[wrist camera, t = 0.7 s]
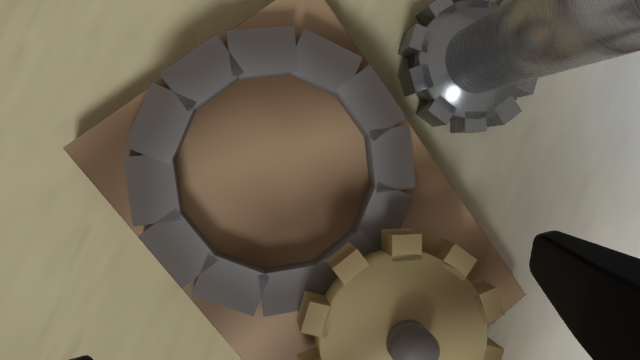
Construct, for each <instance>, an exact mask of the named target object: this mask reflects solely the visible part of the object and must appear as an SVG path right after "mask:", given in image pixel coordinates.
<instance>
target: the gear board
mask: <svg viewBox="0 0 640 360" xmlns="http://www.w3.org/2000/svg"><path fill="white" fill-rule="evenodd" d="M226 33H227V34H226V35H224V36H223V37H221V38H220V39H219V37H218V36H217V35H216V34H215V35H214V36H212V37H211V38H209V39H208V40H207V41H205V42H204V43H202V44H201V45H199V46H198V47H196V48H195V49H194V50H192V51H191V52H189V53H188V54H186V55H185V56H183V57H182V58H181V59H179V60H178V61H176V62H175V63H173V64H172V65H171V66H169V67H168V68H166V69H165V70H163V71H162V72H160V73H159V75H160V76H161V77H162V78H163V79H161V80H160V81H158V82H157V83H153V82H152V83H151V85H150V88H148V89H147V90H145V91H144V92H143V93H141V94H140V95H138V96H137V97H135V98H134V99H132V100H131V101H130V102H128V103H127V104H125V105H124V106H122V107H121V108H120V109H118V110H117V111H115V112H114V113H112V114H111V115H110V116H108V117H107V118H105V119H104V120H102V121H101V122H99V123H98V124H97V125H95V126H94V127H92V128H91V129H89V130H88V131H87V132H85V133H84V134H82V135H81V136H79V137H78V138H77V139H75V140H74V141H72V142H71V143H69V144H68V145H66V146H65V147H64V148H63V149H64V150H65V151H66V152H67V153H68V155H69V156H70V157H71V158H72V159H73V160H74V162H75V163H76V164H77V165H78V166H79V168H80V169H81V170H82V171H83V172H84V173H85V175H86V176H87V177H88V178H89V179H90V181H91V182H92V183H93V184H94V185H95V186H96V188H97V189H98V190H99V191H100V192H101V194H102V195H103V196H104V197H105V198H106V199H107V201H108V202H109V203H110V204H111V205H112V207H113V208H114V209H115V210H116V211H117V213H118V214H119V215H120V216H121V217H122V218H123V220H124V221H125V222H126V223H127V224H128V226H129V227H130V228H131V229H132V230H133V231H134V233H135V234H136V235H137V236H138V237H139V239H140V240H141V241H142V242H143V243H144V245H145V246H146V247H147V248H148V249H149V250H150V252H151V253H152V254H153V255H154V256H155V258H156V259H157V260H158V261H159V262H160V264H161V265H162V266H163V267H164V268H165V269H166V271H167V272H168V273H169V274H170V275H171V277H172V278H173V279H174V280H175V281H176V282H177V284H178V285H179V286H180V287H181V288H182V289H183V291H184V292H185V293H186V294H187V295H188V296H189V298H190V299H191V300H192V301H193V302H194V304H195V305H196V306H197V307H198V308H199V309H200V311H201V312H202V313H203V314H204V315H205V317H206V318H207V319H208V320H209V321H210V322H211V324H212V325H213V326H214V327H215V328H216V330H217V331H218V332H219V333H220V334H221V335H222V337H223V338H224V339H225V340H226V341H227V343H228V344H229V345H230V346H231V347H232V348H233V350H234V351H235V352H236V353H237V354H238V356H239V357H240V358H241V359H242V360H501V358H502V355H503V351H504V349H503V348H502V347H500V346H499V345H498V344H496V343H495V342H494V341H492V340H491V339H490V338H488V337H487V328H488V327H489V326H490V325H491V324H492V323H494V322H495V321H496V320H497V319H498V318H499V317H500V316H502V315H505V314H504V313H505V312H506V311H507V310H509V309H510V308H511V307H512V306H513V305H514V304H516V303H517V302H518V301H519V300H520V299H521V298H522V297H524V296H525V295H526V294H525V293H524V291H523V290H522V288H521V287H520V285H519V284H518V282H517V281H516V279H515V278H514V277H513V275H512V274H511V272H510V271H509V269H508V268H507V266H506V265H505V263H504V262H503V260H502V259H501V258H500V256H499V255H498V253H497V252H496V250H495V249H494V247H493V246H492V244H491V243H490V241H489V240H488V238H487V237H486V236H485V234H484V233H483V231H482V230H481V228H480V227H479V225H478V224H477V222H476V221H475V219H474V218H473V216H472V215H471V214H470V212H469V211H468V209H467V208H466V206H465V205H464V203H463V202H462V200H461V199H460V197H459V196H458V195H457V193H456V192H455V190H454V189H453V187H452V186H451V184H450V183H449V181H448V180H447V178H446V177H445V175H444V174H443V173H442V171H441V170H440V168H439V167H438V165H437V164H436V162H435V161H434V159H433V158H432V156H431V155H430V153H429V152H428V151H427V149H426V148H425V146H424V145H423V143H422V142H421V140H420V139H419V137H418V136H417V134H416V133H415V132H414V130H413V129H412V127H411V126H410V124H409V123H408V121H407V120H406V118H405V117H406V116H405V114H404V113H403V111H402V110H401V108H400V107H399V105H398V104H397V102H396V101H395V99H394V98H393V96H392V95H391V94H390V92H389V91H388V89H387V88H386V86H385V85H384V83H383V82H382V80H381V79H380V77H379V76H378V74H377V73H376V72H375V70H374V69H373V67H372V66H371V64H370V65H369V64H368V63H367V61H366V60H365V58H364V57H363V55H362V54H361V52H360V51H359V49H358V48H357V47H356V45H355V44H354V42H353V41H352V39H351V38H350V36H349V35H348V33H347V32H346V30H345V29H344V27H343V26H342V25H341V23H340V22H339V20H338V19H337V17H336V16H335V14H334V13H333V11H332V10H331V8H330V7H329V6H328V4H327V3H326V1H325V0H275V1H273V2H272V3H270V4H269V5H267V6H266V7H265V8H263V9H262V10H260V11H259V12H257V13H256V14H254V15H253V16H252V17H250V18H249V19H247V20H246V21H244V22H243V23H242V24H240V25H239V26H237V27H236V28H234V29H233V30H226Z"/></svg>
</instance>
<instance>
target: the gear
mask: <svg viewBox="0 0 640 360" xmlns="http://www.w3.org/2000/svg"><path fill="white" fill-rule="evenodd" d="M416 16H417V18H418V20H419V21H420V23H421V24H422V25H419V24H417V23H416V24H415V25H413V26H412V27H411V28H409V29H408V30H407V31H406V32H405V33H404V36H403V39H402V43H401V46H400V49H399V52H398V54H399V55H402V56H405V57H407V58H409V69H408V70H406V71H404V72H402V73H400V74H399V75H398V76H399V80H400V83H401V86H402V89H403V93H404V96H408V95H411V94H414V93H416V94H417V96H418V97H419V99H420V100H421V102H422V103H423V104H422V105H421V107H420V108H419V110H418V111H417V113H416V114H417V115H419V116H420V117H421V118H423V119H424V120H425V121H426V122H428V123H429V124H430V125H431V126H433V127H434V126H440V125H446V124H447V122H448V121H449V120H451V133H473V132H482V131H486V124H487V126H488V127H489V126H497V125H505V124H506V123H507V122H508V121H510V120H511V119H512V118H513V117H515V116H516V115H517V114H518V113H520V112H521V109H520V108H519V106H518V105H517V103H516V101H515V100H516V99H517V98H518V97H522V96H527V95H531V94H533V92H534V89H535V85H536V82H537V79H538V78H540V77H544V76H548V75H551V74H555V73H559V72H562V71H566V70H570V69H574V68H577V67H581V66H585V65H588V64H592V63H596V62H600V61H603V60H607V59H611V58H614V57H618V56H622V55H626V54H629V53H633V52H637V51H640V0H499V1H497V2H495V3H491V2H488V0H435V1H434V2H433V3H431V4H430V5H429V6H427V7H426V8H425V9H424V10H423V11H421V12H420V13H419V14H418V15H416Z"/></svg>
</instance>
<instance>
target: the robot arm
mask: <svg viewBox="0 0 640 360" xmlns="http://www.w3.org/2000/svg"><path fill="white" fill-rule="evenodd" d="M529 266H530V271H531V273H532V275H533V277H534V278H535V280H536V281H537V283H538V284H539V286H540V287H541V288H542V290H543V291H544V293H545V294H546V296H547V297H548V299H549V300H550V302H551V303H552V305H553V306H554V308H555V309H556V311H557V312H558V314H559V315H560V317H561V318H562V319H563V321H564V322H565V324H566V325H567V327H568V328H569V330H570V331H571V332H572V334H573V335H574V337H575V338H576V339H577V340H578V342H579V343H580V344H581V345H582V347H583V348H584V349H585V350H586V352H587V353H588V354H589V355H590V356H591V358H592V359H593V360H640V259H639V258H636V257H633V256H630V255H627V254H624V253H621V252H618V251H615V250H612V249H609V248H606V247H603V246H600V245H597V244H594V243H592V242H589V241H586V240H583V239H580V238H577V237H574V236H571V235H568V234H565V233H562V232H559V231H549V232H545V233H541V234H538V235H536V237H535V238H534V241H533V246H532V251H531V257H530V262H529ZM70 360H93V359H92V358H91V357H90V356H88V355H86V356H81V357H77V358H73V359H70Z"/></svg>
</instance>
